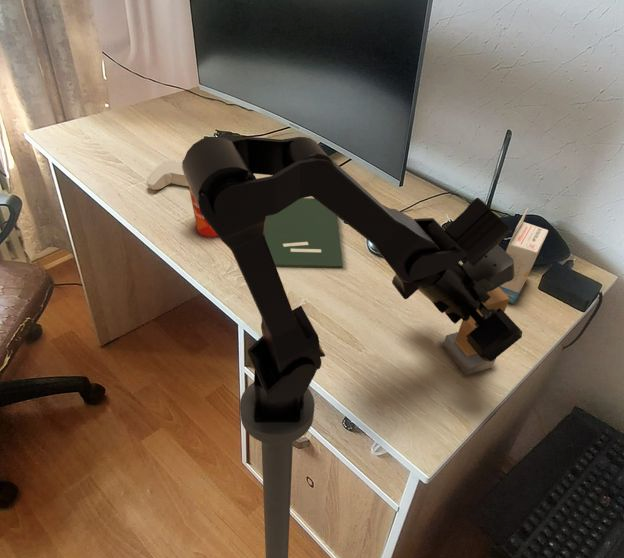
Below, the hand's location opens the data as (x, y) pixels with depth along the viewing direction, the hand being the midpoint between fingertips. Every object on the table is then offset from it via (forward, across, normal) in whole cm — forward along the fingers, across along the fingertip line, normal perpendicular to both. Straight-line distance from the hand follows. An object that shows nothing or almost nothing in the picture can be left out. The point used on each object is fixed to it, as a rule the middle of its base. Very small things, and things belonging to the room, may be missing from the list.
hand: (486, 323), depth 81 cm
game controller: (-19, +66, +29) cm, 74 cm away
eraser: (+4, 0, +6) cm, 7 cm away
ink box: (+16, +13, -6) cm, 22 cm away
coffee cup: (-17, +48, +28) cm, 58 cm away
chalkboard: (-6, +42, +16) cm, 45 cm away
